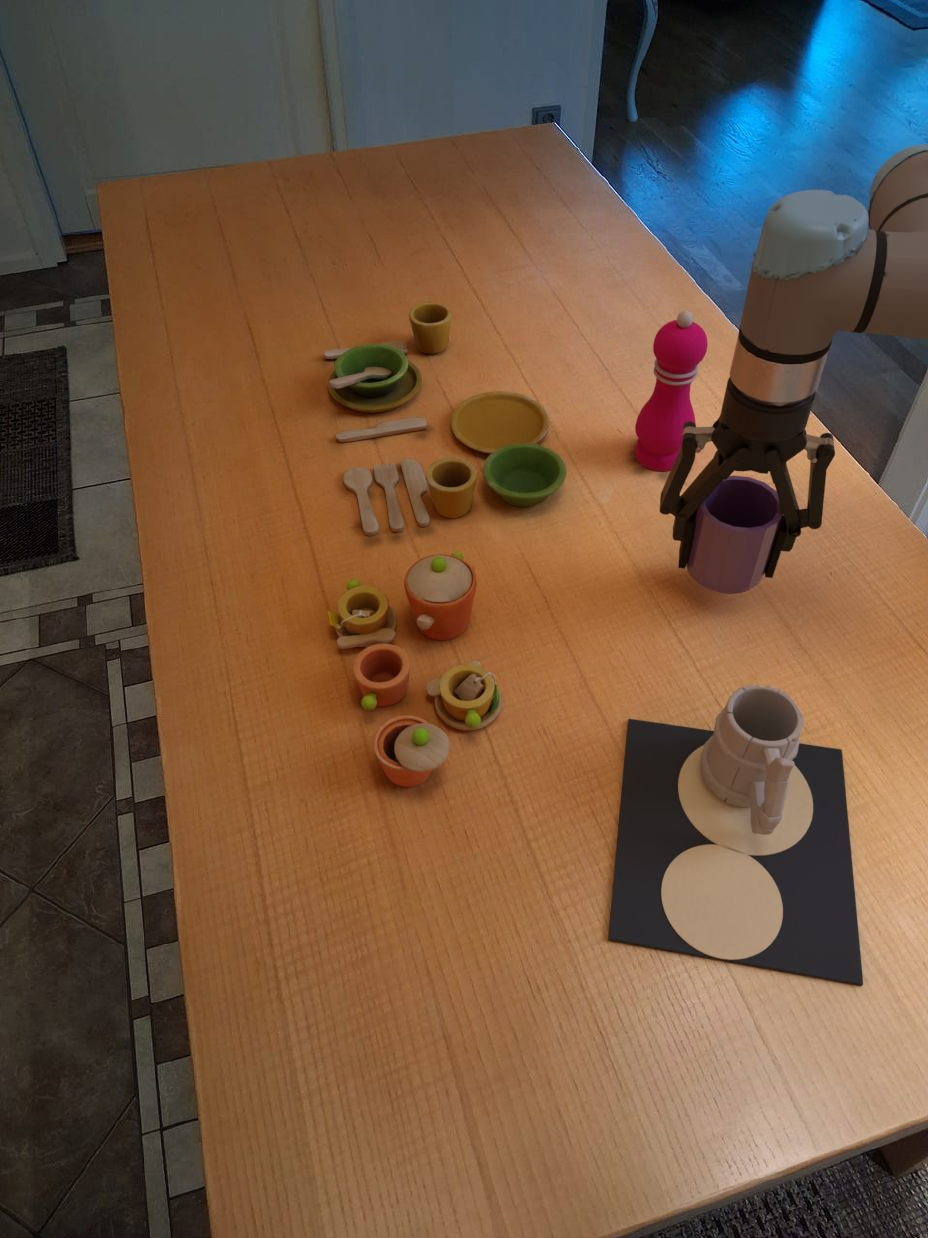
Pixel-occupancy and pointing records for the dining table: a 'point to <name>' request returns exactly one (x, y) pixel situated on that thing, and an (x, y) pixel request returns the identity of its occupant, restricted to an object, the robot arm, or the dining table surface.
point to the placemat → (734, 862)
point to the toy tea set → (383, 669)
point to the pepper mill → (670, 392)
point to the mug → (754, 753)
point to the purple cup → (734, 535)
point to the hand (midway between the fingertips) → (725, 563)
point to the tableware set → (478, 422)
